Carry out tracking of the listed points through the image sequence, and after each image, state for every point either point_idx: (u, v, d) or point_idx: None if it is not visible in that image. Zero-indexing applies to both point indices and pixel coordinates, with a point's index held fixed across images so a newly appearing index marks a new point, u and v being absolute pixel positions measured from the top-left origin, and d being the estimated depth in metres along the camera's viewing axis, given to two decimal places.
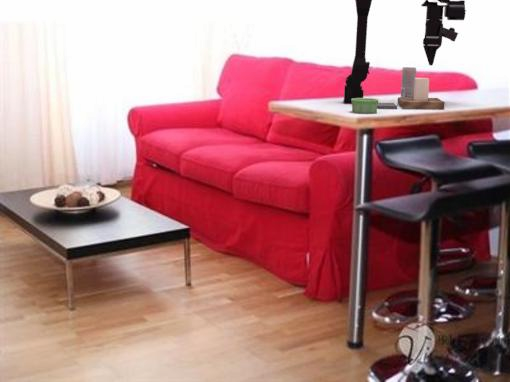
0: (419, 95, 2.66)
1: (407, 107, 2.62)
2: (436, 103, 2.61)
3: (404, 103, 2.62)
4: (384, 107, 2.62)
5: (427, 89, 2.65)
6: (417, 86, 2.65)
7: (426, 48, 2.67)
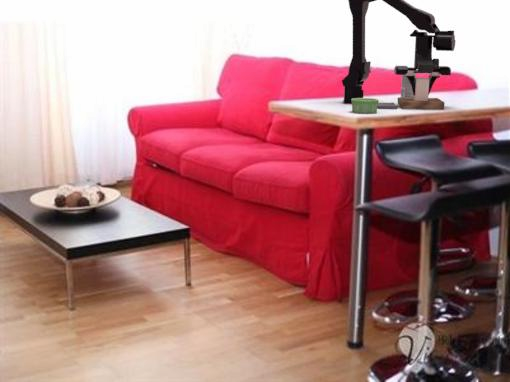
0: (419, 94, 2.66)
1: (407, 107, 2.62)
2: (436, 103, 2.61)
3: (404, 103, 2.62)
4: (384, 107, 2.62)
5: (427, 89, 2.65)
6: (417, 86, 2.65)
7: (408, 77, 2.68)
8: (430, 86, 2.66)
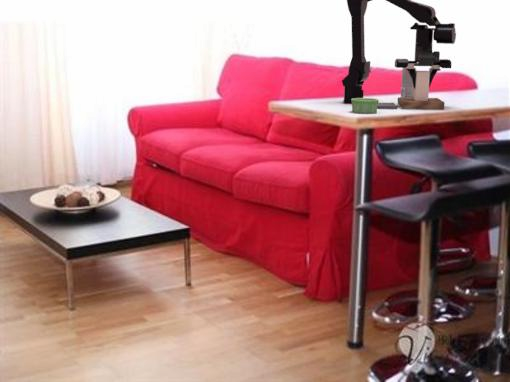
0: (420, 88, 2.65)
1: (407, 107, 2.62)
2: (436, 103, 2.61)
3: (404, 103, 2.62)
4: (384, 107, 2.62)
5: (427, 82, 2.64)
6: (417, 79, 2.64)
7: (409, 71, 2.68)
8: (430, 79, 2.65)
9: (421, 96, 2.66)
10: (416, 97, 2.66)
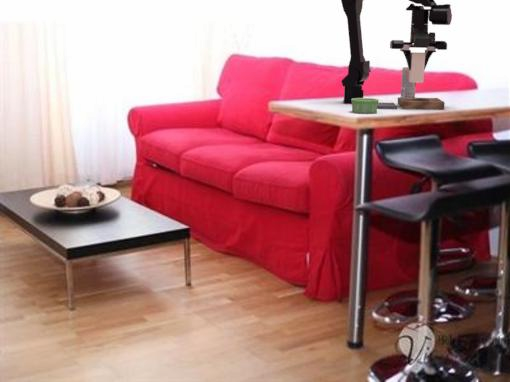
0: (415, 69, 2.63)
1: (407, 107, 2.62)
2: (436, 103, 2.61)
3: (404, 103, 2.62)
4: (384, 107, 2.62)
5: (423, 64, 2.63)
6: (413, 60, 2.63)
7: (404, 52, 2.66)
8: (426, 61, 2.64)
9: (416, 78, 2.64)
10: (411, 79, 2.64)
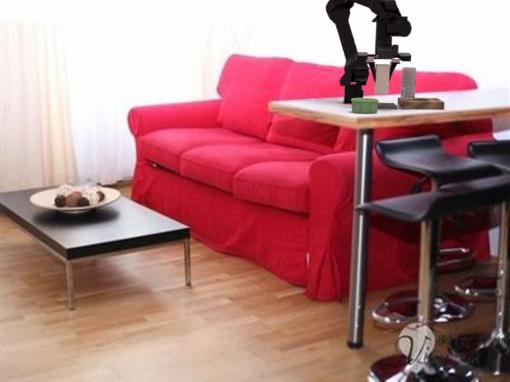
0: (380, 81, 2.63)
1: (407, 107, 2.62)
2: (436, 103, 2.61)
3: (404, 103, 2.62)
4: (384, 107, 2.62)
5: (388, 75, 2.63)
6: (377, 72, 2.63)
7: None
8: (391, 72, 2.63)
9: (381, 89, 2.64)
10: (376, 90, 2.64)
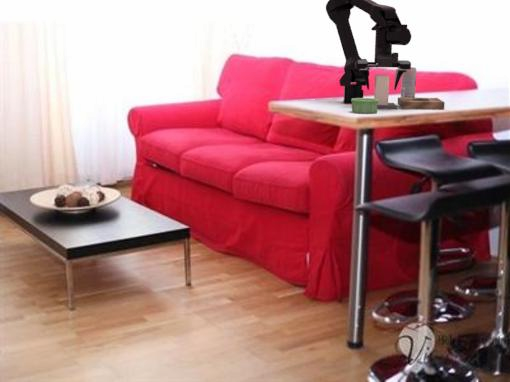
0: (379, 92, 2.64)
1: (407, 107, 2.62)
2: (436, 103, 2.61)
3: (404, 103, 2.62)
4: (384, 107, 2.62)
5: (387, 86, 2.63)
6: (377, 83, 2.63)
7: (362, 72, 2.67)
8: (397, 80, 2.64)
9: (381, 100, 2.65)
10: None
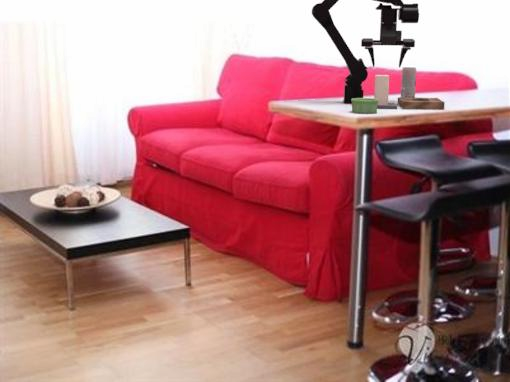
0: (379, 92, 2.64)
1: (407, 107, 2.62)
2: (436, 103, 2.61)
3: (404, 103, 2.62)
4: (384, 107, 2.62)
5: (387, 86, 2.63)
6: (377, 83, 2.63)
7: None
8: (401, 58, 2.74)
9: (381, 100, 2.65)
10: None
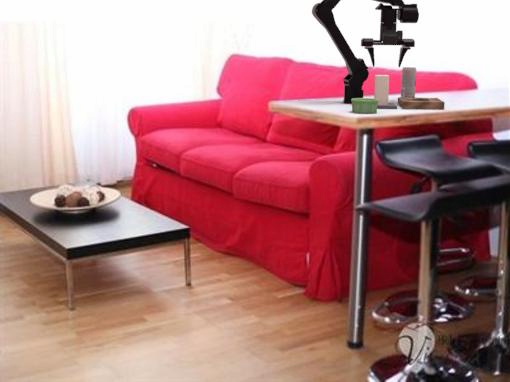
0: (379, 92, 2.64)
1: (407, 107, 2.62)
2: (436, 103, 2.61)
3: (404, 103, 2.62)
4: (384, 107, 2.62)
5: (387, 86, 2.63)
6: (377, 83, 2.63)
7: (368, 50, 2.79)
8: (401, 58, 2.76)
9: (381, 100, 2.65)
10: None
